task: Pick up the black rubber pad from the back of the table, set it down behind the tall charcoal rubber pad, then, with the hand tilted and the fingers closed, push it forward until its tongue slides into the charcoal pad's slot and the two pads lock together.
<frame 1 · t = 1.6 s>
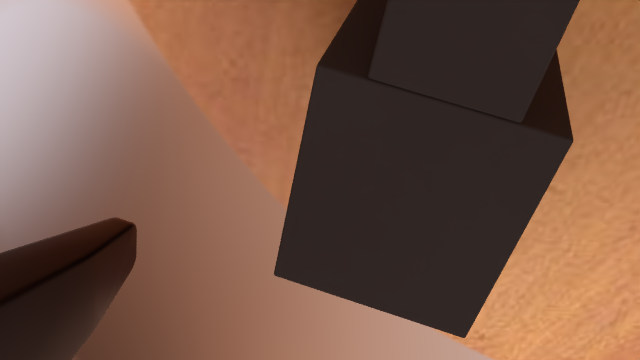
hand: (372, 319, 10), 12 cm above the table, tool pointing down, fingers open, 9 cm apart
black pad: (437, 57, 20), on the table
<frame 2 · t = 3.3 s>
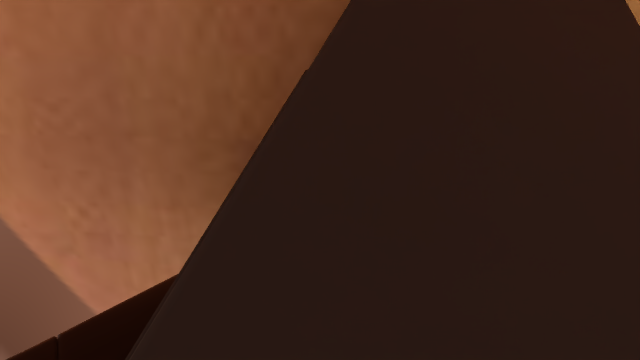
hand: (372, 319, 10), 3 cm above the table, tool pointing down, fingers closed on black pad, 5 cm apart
black pad: (393, 230, 12), on the table, touching gripper
when the fingers open (2 cm above the table, at t = 10.2 s): black pad stays where it is, on the table.
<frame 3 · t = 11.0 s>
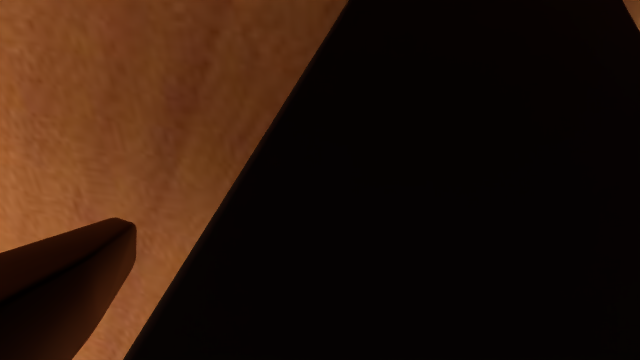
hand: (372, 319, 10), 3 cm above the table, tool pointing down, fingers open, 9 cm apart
black pad: (395, 215, 13), on the table
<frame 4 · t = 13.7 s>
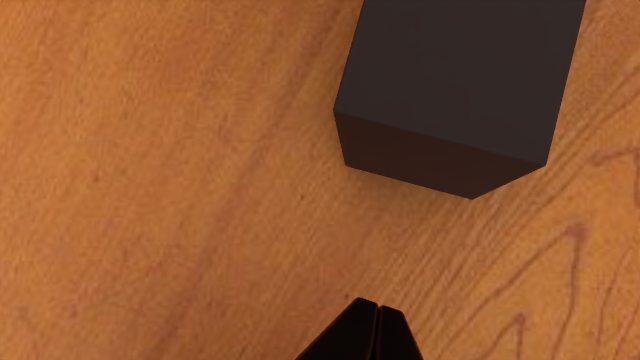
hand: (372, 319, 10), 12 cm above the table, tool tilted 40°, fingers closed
black pad: (428, 108, 23), on the table
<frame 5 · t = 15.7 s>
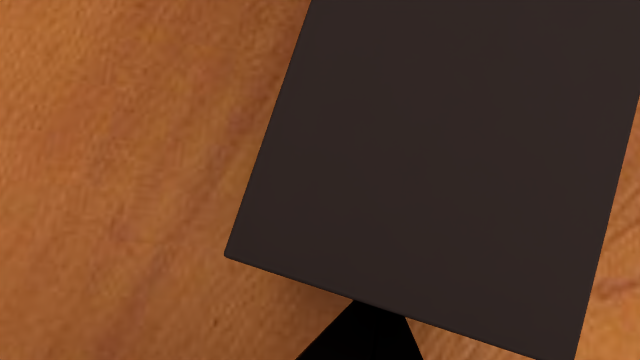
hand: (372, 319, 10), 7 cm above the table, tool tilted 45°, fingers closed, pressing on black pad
black pad: (392, 195, 17), on the table, touching gripper
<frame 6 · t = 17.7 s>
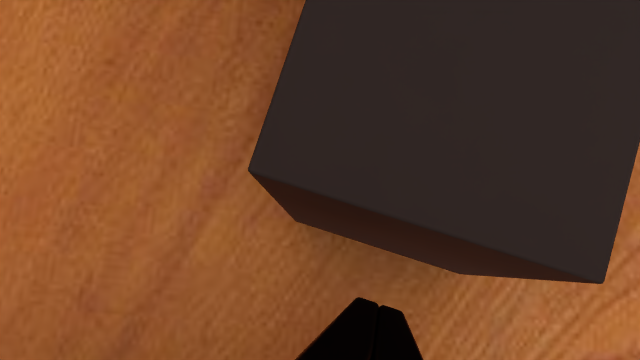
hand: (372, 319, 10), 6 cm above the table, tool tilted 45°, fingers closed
black pad: (407, 149, 17), on the table
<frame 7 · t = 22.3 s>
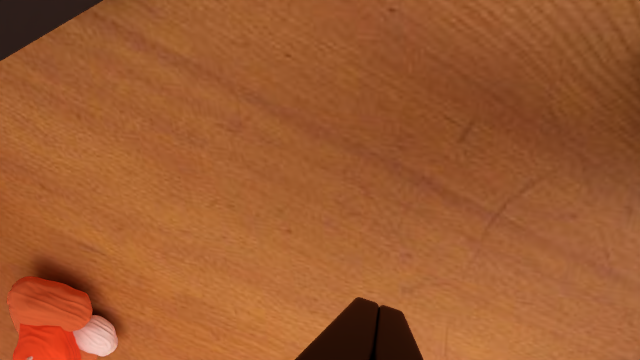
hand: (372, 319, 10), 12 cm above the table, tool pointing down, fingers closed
lollipop: (71, 292, 33), on the table
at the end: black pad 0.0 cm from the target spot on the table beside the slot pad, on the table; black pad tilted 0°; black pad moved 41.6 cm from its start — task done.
